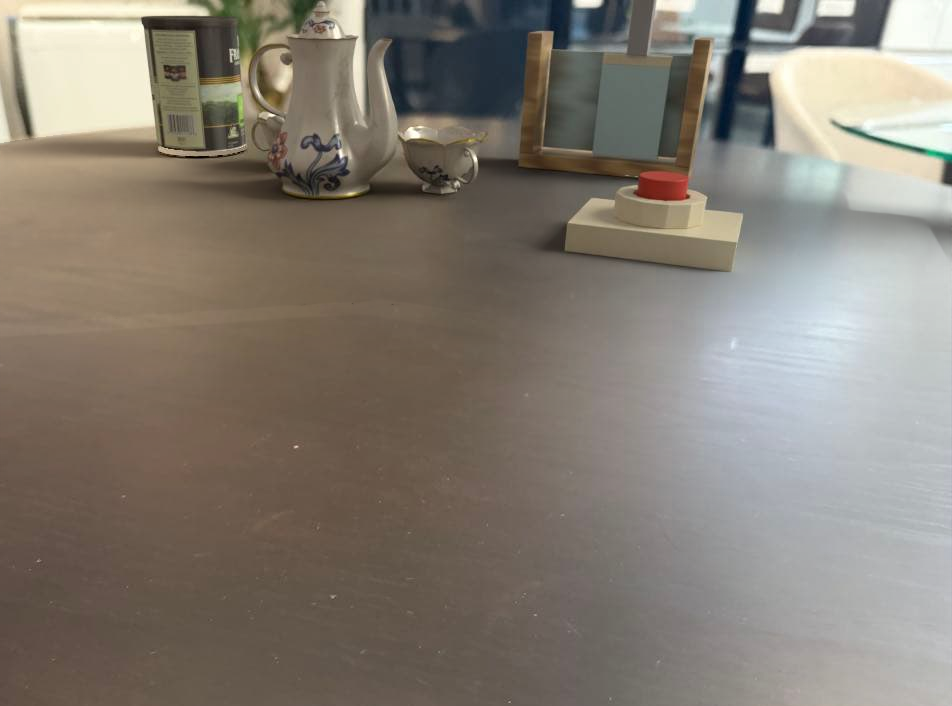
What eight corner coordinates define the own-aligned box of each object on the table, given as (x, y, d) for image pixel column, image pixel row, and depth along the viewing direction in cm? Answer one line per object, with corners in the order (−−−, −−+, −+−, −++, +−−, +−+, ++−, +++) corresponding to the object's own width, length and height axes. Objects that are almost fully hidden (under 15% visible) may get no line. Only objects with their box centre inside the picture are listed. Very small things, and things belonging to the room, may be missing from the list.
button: (687, 197, 64) (691, 173, 63) (682, 207, 61) (686, 182, 60) (640, 192, 65) (643, 169, 64) (632, 201, 62) (636, 178, 61)
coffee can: (244, 141, 103) (235, 15, 97) (249, 157, 94) (240, 19, 88) (157, 143, 101) (143, 14, 94) (154, 159, 92) (138, 18, 85)
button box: (738, 240, 66) (748, 190, 65) (731, 272, 59) (742, 216, 57) (588, 223, 70) (593, 175, 69) (564, 251, 63) (569, 198, 61)
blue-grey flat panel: (658, 158, 88) (685, -23, 80) (656, 160, 87) (683, -23, 79) (594, 152, 90) (614, -24, 83) (591, 155, 89) (611, -24, 81)
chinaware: (505, 201, 84) (524, 19, 78) (434, 220, 70) (450, 0, 64) (275, 170, 95) (276, 9, 89) (174, 182, 81) (167, -9, 75)
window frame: (692, 174, 90) (714, 37, 84) (687, 182, 86) (711, 39, 80) (529, 159, 96) (540, 30, 90) (518, 166, 92) (528, 32, 86)
